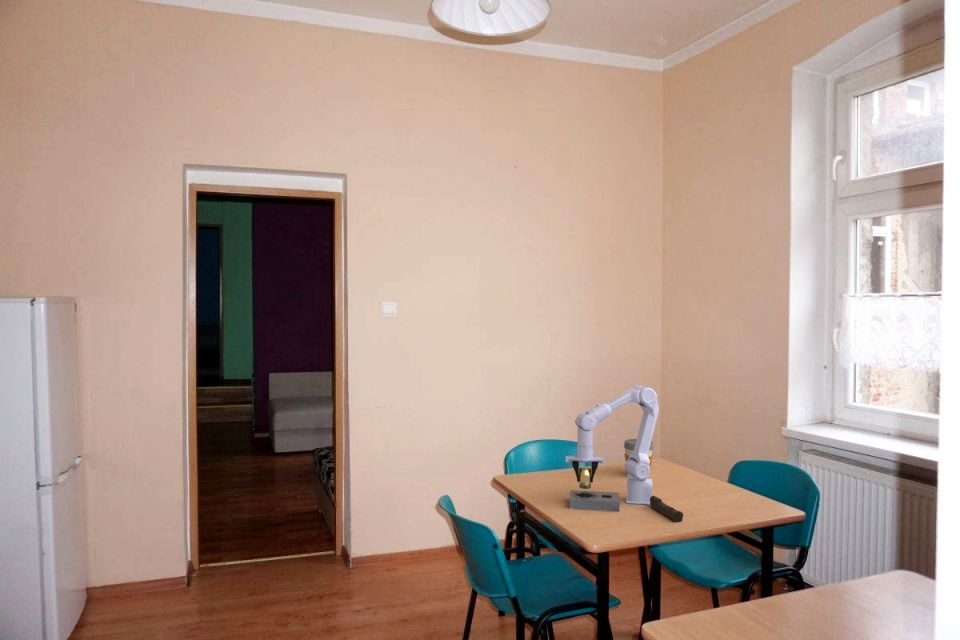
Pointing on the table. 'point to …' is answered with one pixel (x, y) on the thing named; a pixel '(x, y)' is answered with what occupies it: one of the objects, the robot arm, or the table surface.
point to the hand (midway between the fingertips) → (585, 481)
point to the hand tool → (665, 509)
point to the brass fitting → (585, 477)
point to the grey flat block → (594, 500)
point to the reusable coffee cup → (629, 448)
